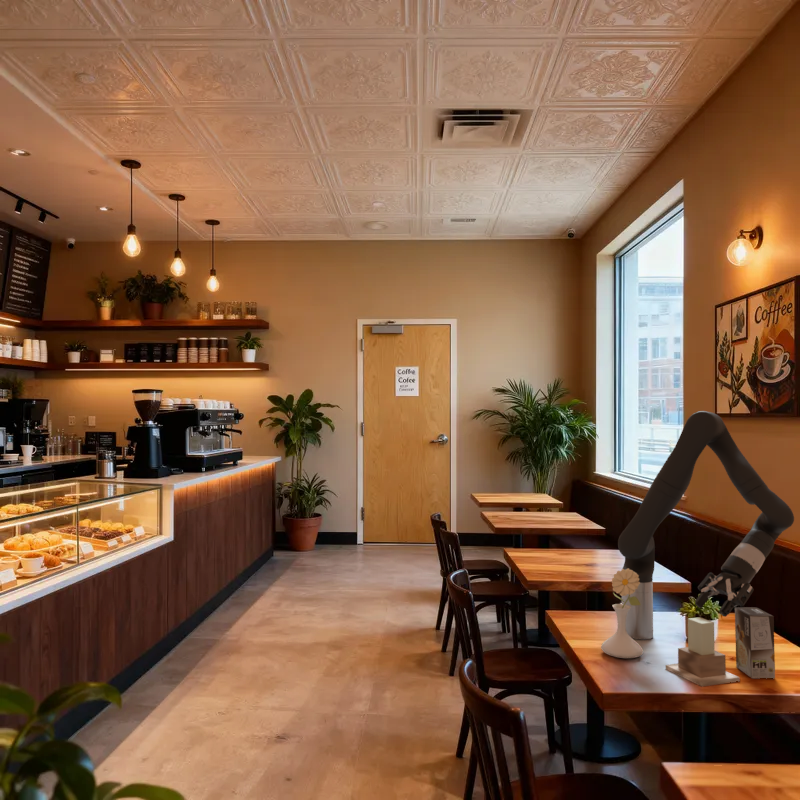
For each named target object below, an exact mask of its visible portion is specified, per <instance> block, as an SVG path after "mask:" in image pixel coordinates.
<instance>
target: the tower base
mask: <svg viewBox="0 0 800 800" xmlns="http://www.w3.org/2000/svg"><path fill="white" fill-rule="evenodd" d="M677 653H678V654H677V659H678V660H677V661H678V662H677V663H670V664H665V670H666V671H667V670H668V672H669V671H670V672H671V673H673V674H675V675H678V676H679V677H681V678H684V679H685V680H688V681H690V682H692V683H693V684H695V685H698V686H699V687H707V686H708V687H709V686H715V685H716V686H717V685H722V684H728V683H729V684H730V682H731V683H737V682H736V681H738V682H741V681H740V679H741V678H740V676H738V675H735V674H733V673H731V672H728V671H727V668H726V667H727V666H726V664H727V663H726V662H727V661H726V654H724V653H721V652H719V651H717V650H715V654H708V655H700V654H698V653H696V652H694V651H691V650H689V649H688V646H686V647H679V648H677Z"/></svg>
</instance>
